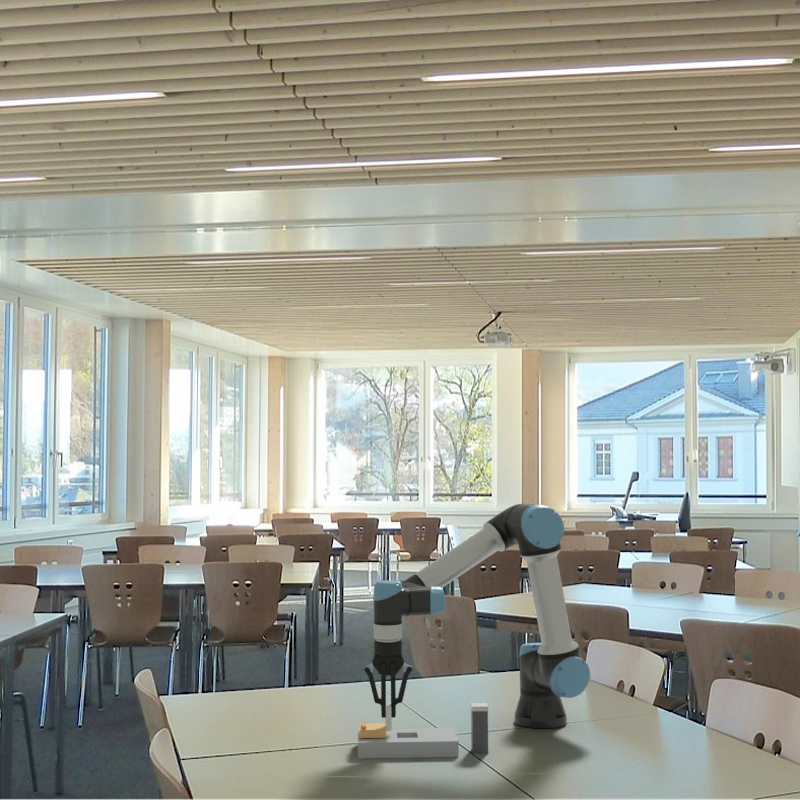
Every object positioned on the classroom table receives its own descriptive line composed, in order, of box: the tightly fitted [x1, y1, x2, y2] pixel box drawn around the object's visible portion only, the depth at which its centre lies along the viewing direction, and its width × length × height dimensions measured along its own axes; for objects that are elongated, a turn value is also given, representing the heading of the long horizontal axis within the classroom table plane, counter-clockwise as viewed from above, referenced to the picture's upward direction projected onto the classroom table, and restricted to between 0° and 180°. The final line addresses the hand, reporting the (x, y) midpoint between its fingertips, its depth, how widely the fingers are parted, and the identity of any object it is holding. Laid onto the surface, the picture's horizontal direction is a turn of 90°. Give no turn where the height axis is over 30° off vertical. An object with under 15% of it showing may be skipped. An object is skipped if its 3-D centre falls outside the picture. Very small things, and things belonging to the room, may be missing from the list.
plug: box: [470, 702, 489, 755], centre depth 285 cm, size 4×4×12 cm
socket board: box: [357, 727, 460, 759], centre depth 286 cm, size 26×14×4 cm, turn 92°
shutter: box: [358, 720, 386, 738], centre depth 286 cm, size 7×7×3 cm
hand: (388, 729), depth 286 cm, fingers closed
